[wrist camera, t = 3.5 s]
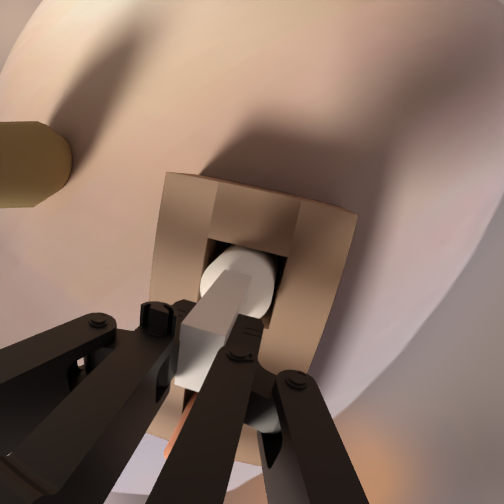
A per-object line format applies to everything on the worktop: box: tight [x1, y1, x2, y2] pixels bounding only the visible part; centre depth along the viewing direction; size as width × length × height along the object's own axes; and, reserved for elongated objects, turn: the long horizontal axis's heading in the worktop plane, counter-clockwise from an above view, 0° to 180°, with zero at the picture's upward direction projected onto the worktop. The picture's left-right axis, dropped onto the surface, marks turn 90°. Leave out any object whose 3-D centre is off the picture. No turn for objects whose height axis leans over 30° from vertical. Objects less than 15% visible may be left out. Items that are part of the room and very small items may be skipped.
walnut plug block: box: [146, 172, 358, 466], centre depth 21 cm, size 22×11×6 cm, turn 168°
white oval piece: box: [200, 244, 278, 318], centre depth 19 cm, size 4×4×6 cm
